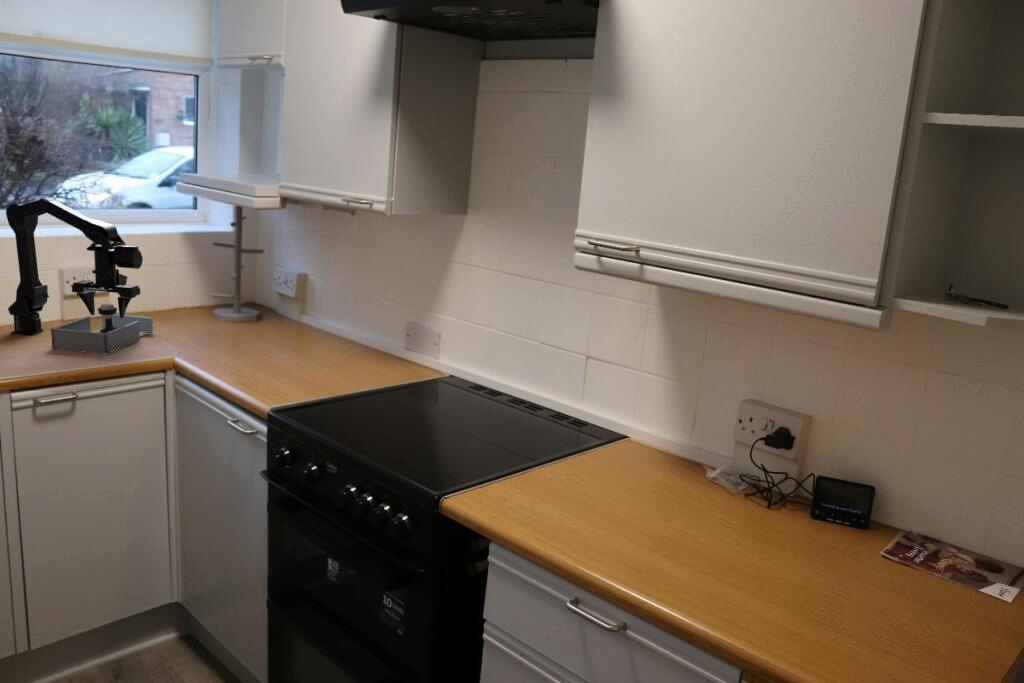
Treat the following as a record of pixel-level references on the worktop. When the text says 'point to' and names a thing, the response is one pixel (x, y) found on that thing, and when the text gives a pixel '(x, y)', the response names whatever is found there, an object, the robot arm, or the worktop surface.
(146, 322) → the tray
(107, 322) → the push button
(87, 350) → the dock
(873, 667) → the worktop surface
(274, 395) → the worktop surface
